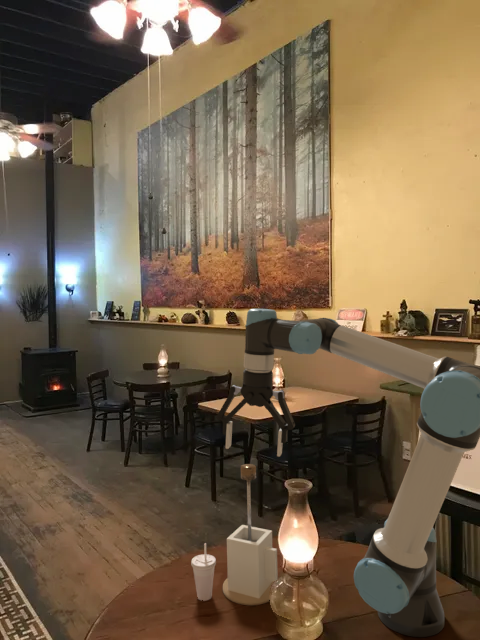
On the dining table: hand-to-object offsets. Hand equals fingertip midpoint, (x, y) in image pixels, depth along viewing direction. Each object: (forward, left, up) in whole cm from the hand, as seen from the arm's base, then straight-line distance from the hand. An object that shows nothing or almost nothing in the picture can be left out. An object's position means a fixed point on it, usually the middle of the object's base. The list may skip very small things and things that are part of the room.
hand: (253, 450), depth 131 cm
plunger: (+3, -2, -27) cm, 27 cm away
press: (+3, -2, -38) cm, 38 cm away
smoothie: (+12, +6, -38) cm, 40 cm away
